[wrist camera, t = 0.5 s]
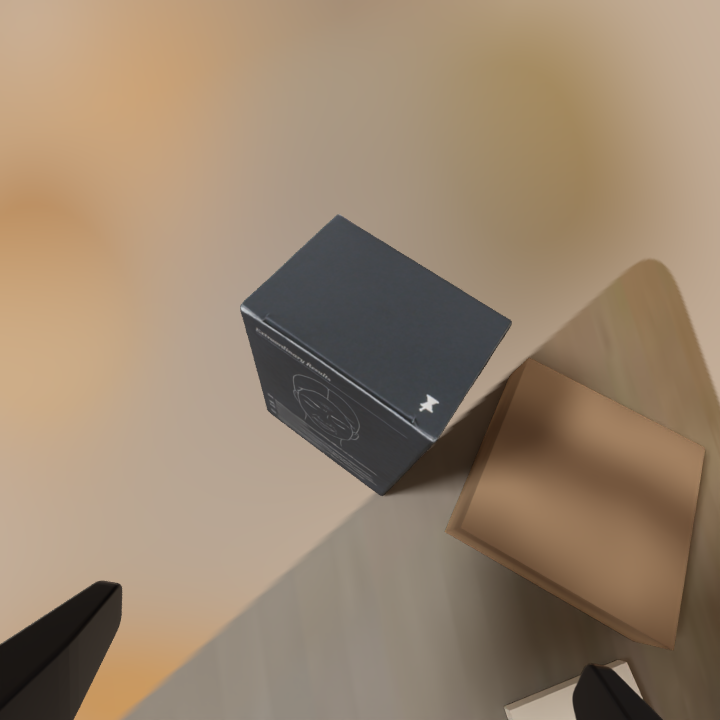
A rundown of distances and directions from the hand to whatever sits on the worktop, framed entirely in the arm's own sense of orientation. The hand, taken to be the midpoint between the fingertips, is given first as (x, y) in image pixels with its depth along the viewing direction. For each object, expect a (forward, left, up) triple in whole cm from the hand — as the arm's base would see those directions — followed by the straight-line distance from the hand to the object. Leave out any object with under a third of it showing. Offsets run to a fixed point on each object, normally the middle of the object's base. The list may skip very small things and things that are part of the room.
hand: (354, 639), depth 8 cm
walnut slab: (+1, -13, -13) cm, 19 cm away
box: (+8, -3, -13) cm, 16 cm away
